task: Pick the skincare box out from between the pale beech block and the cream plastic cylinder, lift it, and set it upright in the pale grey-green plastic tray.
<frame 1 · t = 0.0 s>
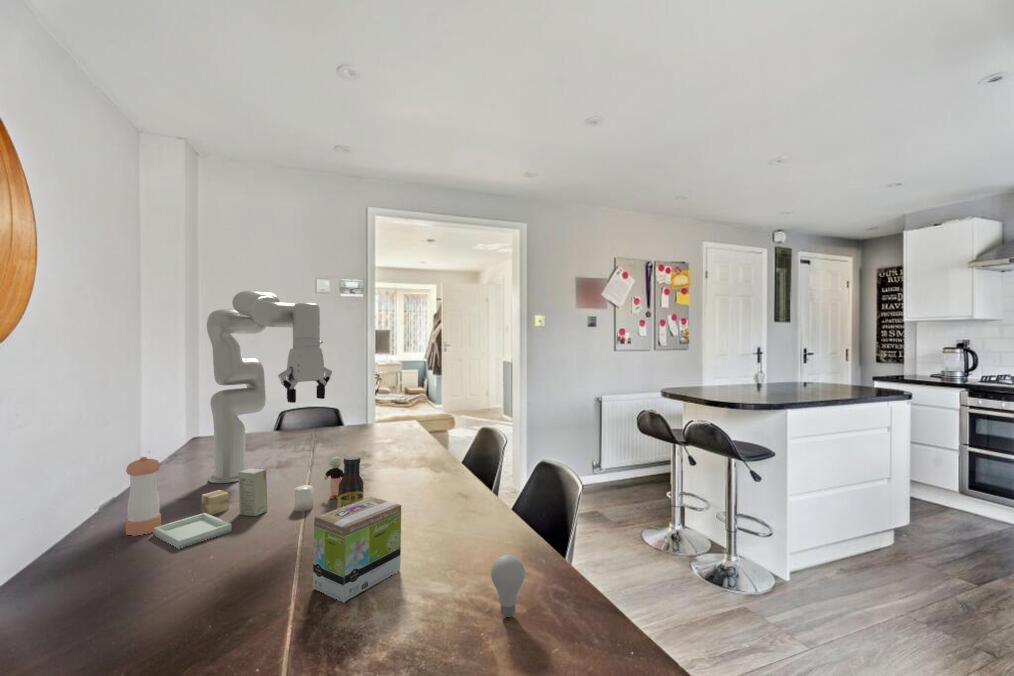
hand: (306, 400, 141), 31 cm above the table, tool pointing down, fingers open, 9 cm apart
tea box: (358, 581, 97), on the table
cream cylinder: (303, 508, 137), on the table
tray: (192, 533, 119), on the table
lightbulb: (507, 618, 84), on the table
sauce bottle: (350, 536, 118), on the table
beech block: (215, 510, 135), on the table
salt shaker: (143, 531, 121), on the table
skincare box: (253, 513, 133), on the table
grandmother figurine: (335, 497, 146), on the table
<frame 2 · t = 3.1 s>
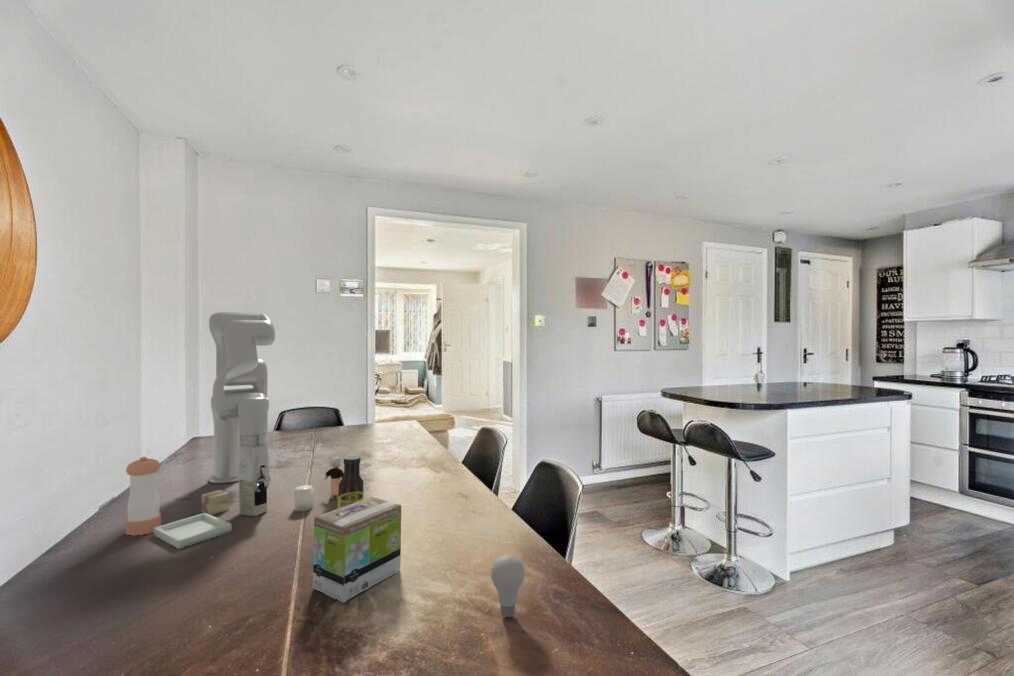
hand: (253, 501, 133), 3 cm above the table, tool pointing down, fingers closed on skincare box, 6 cm apart
skincare box: (253, 513, 133), on the table, touching gripper
everything else where it was.
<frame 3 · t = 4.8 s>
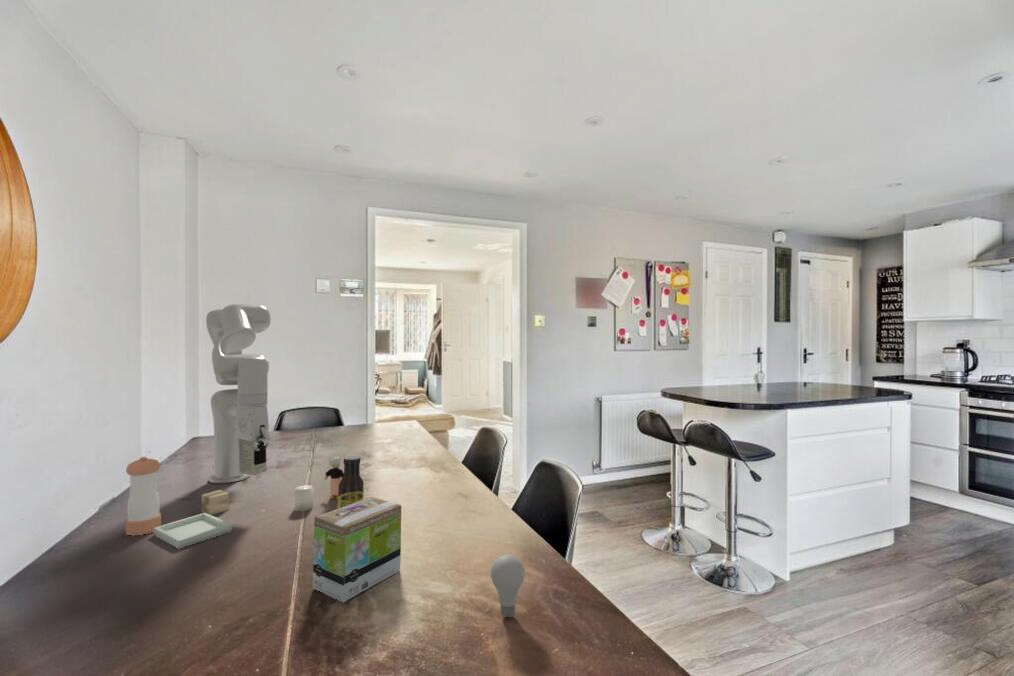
hand: (252, 460, 134), 15 cm above the table, tool pointing down, fingers closed on skincare box, 6 cm apart
skincare box: (252, 473, 134), point 11 cm above the table, touching gripper
everything else where it was.
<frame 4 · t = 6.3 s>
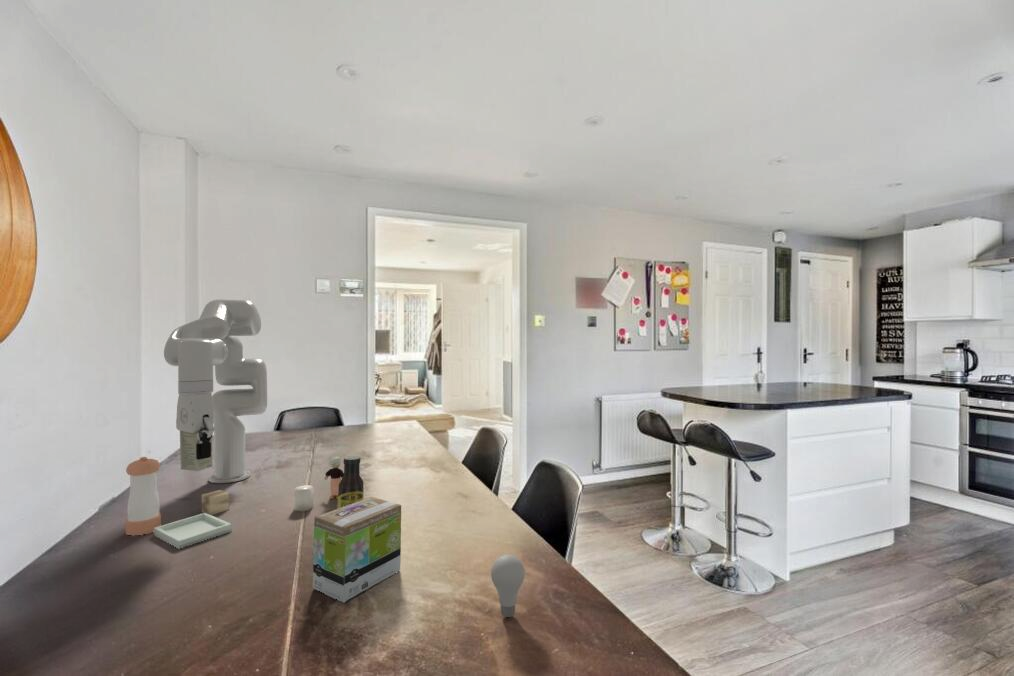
hand: (196, 455, 120), 20 cm above the table, tool pointing down, fingers closed on skincare box, 6 cm apart
skincare box: (196, 469, 120), point 16 cm above the table, touching gripper
everything else where it was.
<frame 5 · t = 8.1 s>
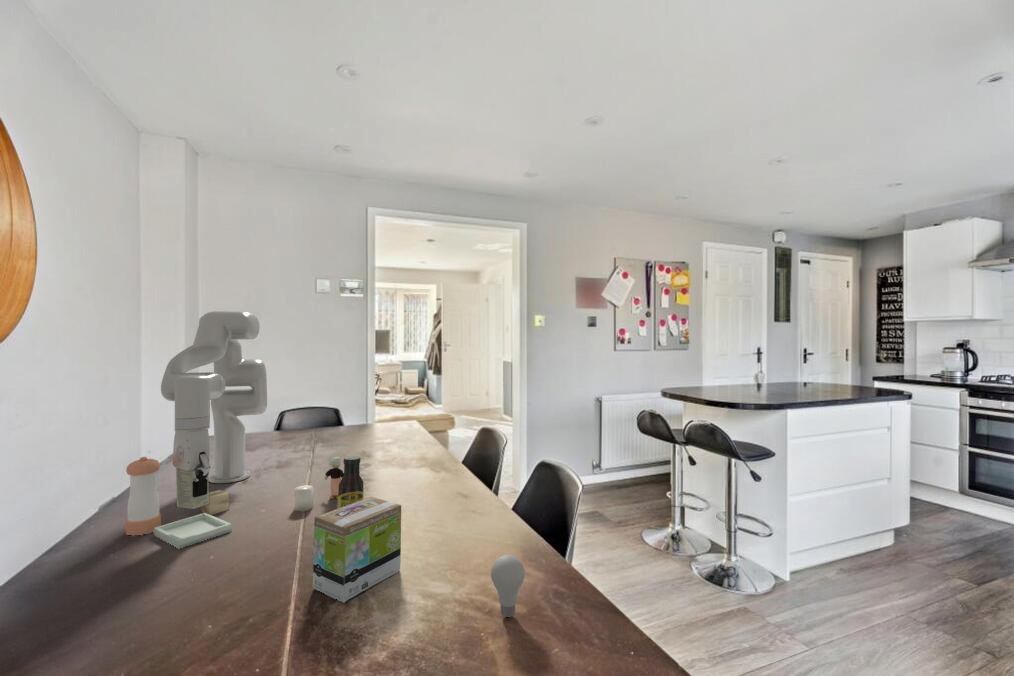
hand: (192, 492, 119), 11 cm above the table, tool pointing down, fingers closed on skincare box, 6 cm apart
skincare box: (192, 506, 119), point 7 cm above the table, touching gripper
everything else where it was.
when the fingers open (6 cm above the table, at t = 9.6 s): skincare box drops 1 cm, resting on tray.
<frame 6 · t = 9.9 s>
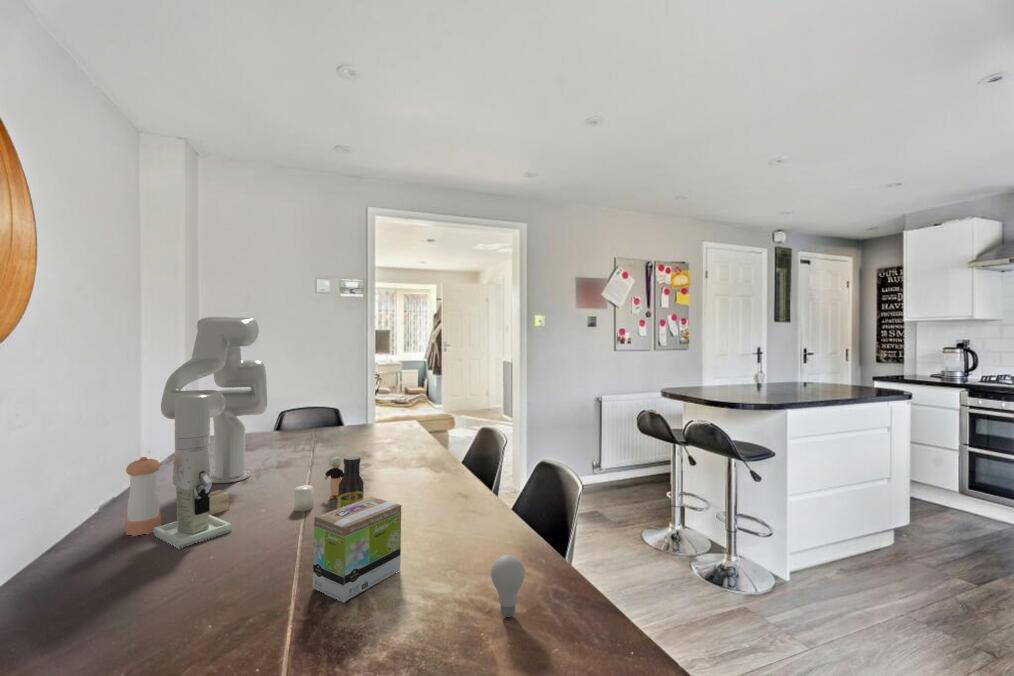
hand: (192, 509, 119), 6 cm above the table, tool pointing down, fingers open, 9 cm apart
skincare box: (192, 530, 120), point 1 cm above the table, touching tray
everything else where it was.
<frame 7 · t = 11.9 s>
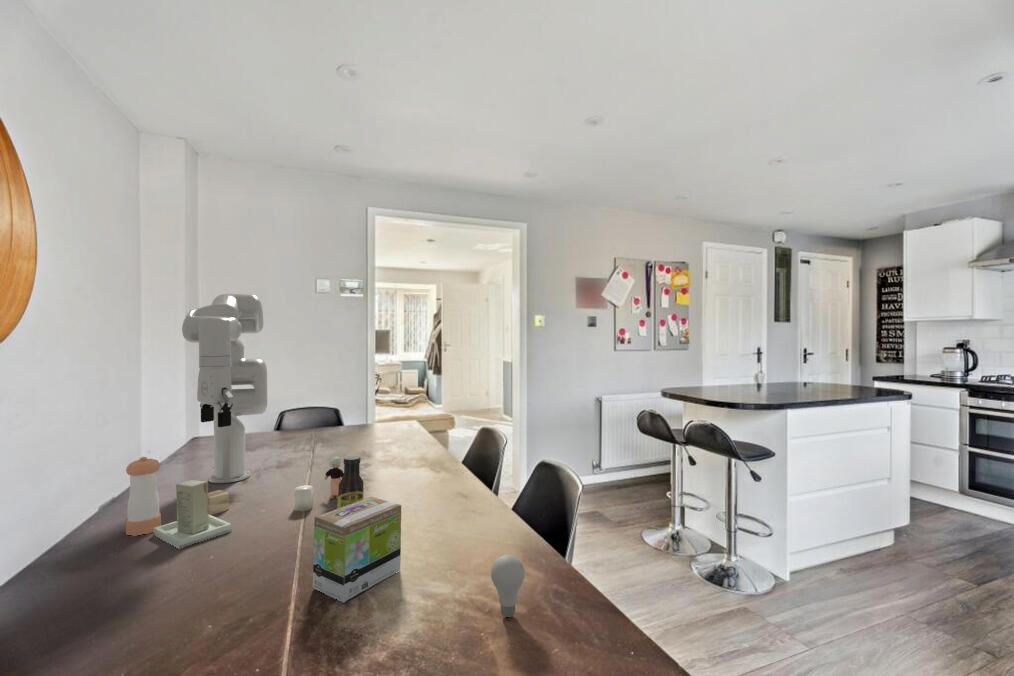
hand: (215, 423, 128), 26 cm above the table, tool pointing down, fingers open, 9 cm apart
nothing on the table moved.
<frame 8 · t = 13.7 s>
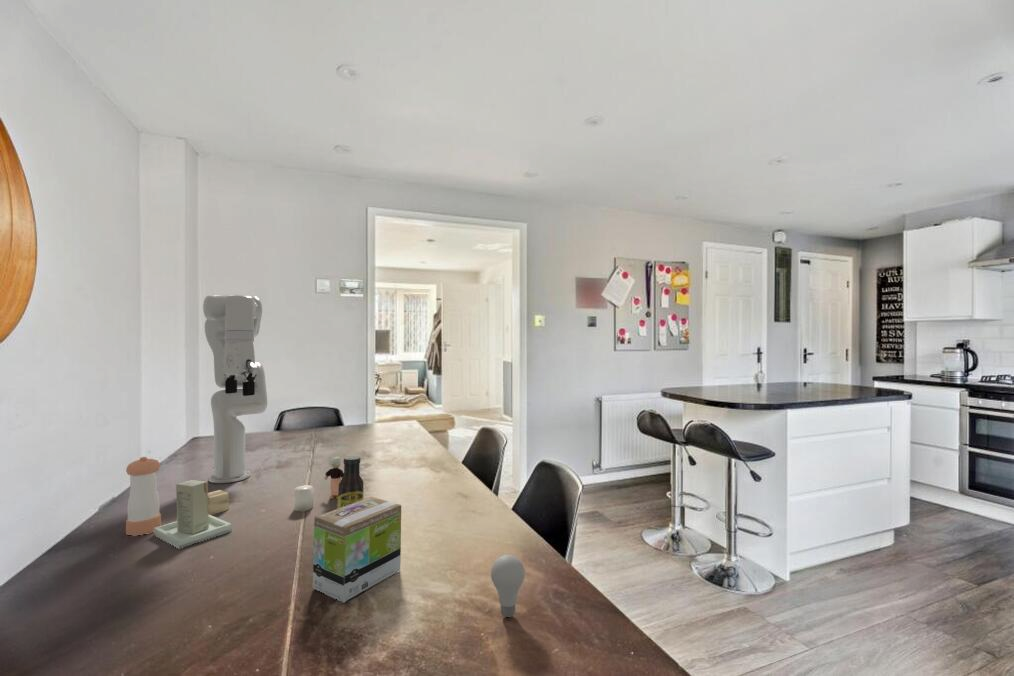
hand: (239, 394, 139), 33 cm above the table, tool pointing down, fingers open, 9 cm apart
nothing on the table moved.
at the end: skincare box inside the target area on the tray (0.5 cm from its centre), point 0.6 cm above the tray's base; skincare box tilted 0°; the gripper is holding nothing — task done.
